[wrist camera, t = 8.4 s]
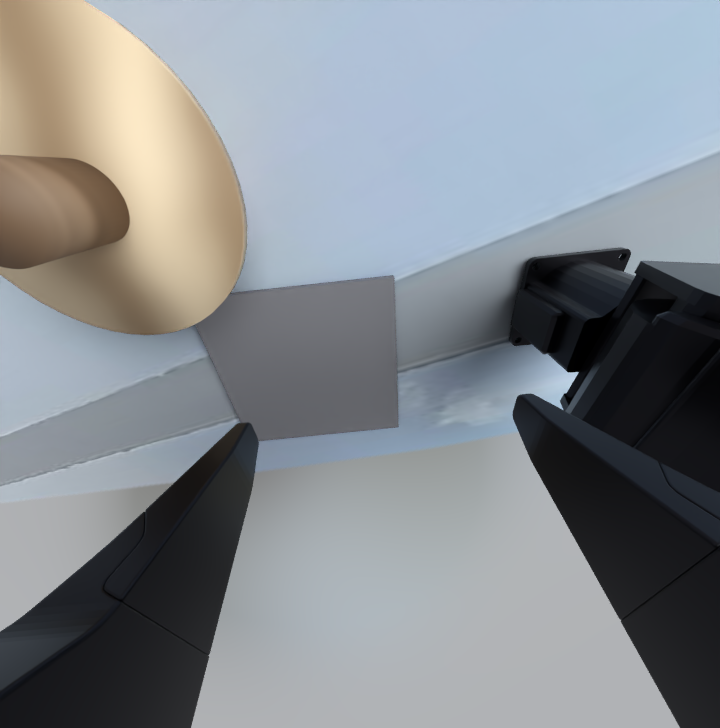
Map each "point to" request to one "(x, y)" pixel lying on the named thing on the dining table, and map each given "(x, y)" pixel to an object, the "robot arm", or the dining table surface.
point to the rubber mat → (308, 357)
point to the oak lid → (110, 176)
